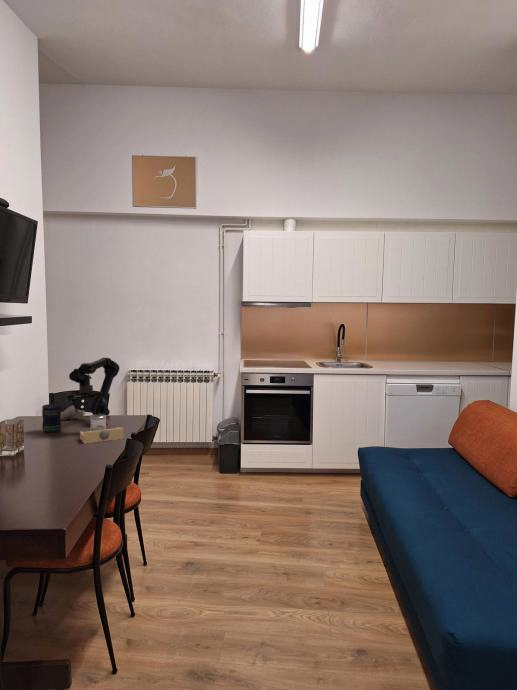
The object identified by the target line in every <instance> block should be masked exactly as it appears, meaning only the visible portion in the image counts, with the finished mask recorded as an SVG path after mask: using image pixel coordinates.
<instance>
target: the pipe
mask: <svg viewBox="0 0 517 690" xmlns="http://www.w3.org/2000/svg"><path fill="white" fill-rule="evenodd" d="M85 414H86V411H85V410H80V409H78V408H77V412H76V410H75V407H74V406H73V405H70V406H68V407H66V409H65V410H63V411H61V422H63V421H68V420H67V419H70V420H75V419H78V418H79V417H84V416H85Z"/></svg>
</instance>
